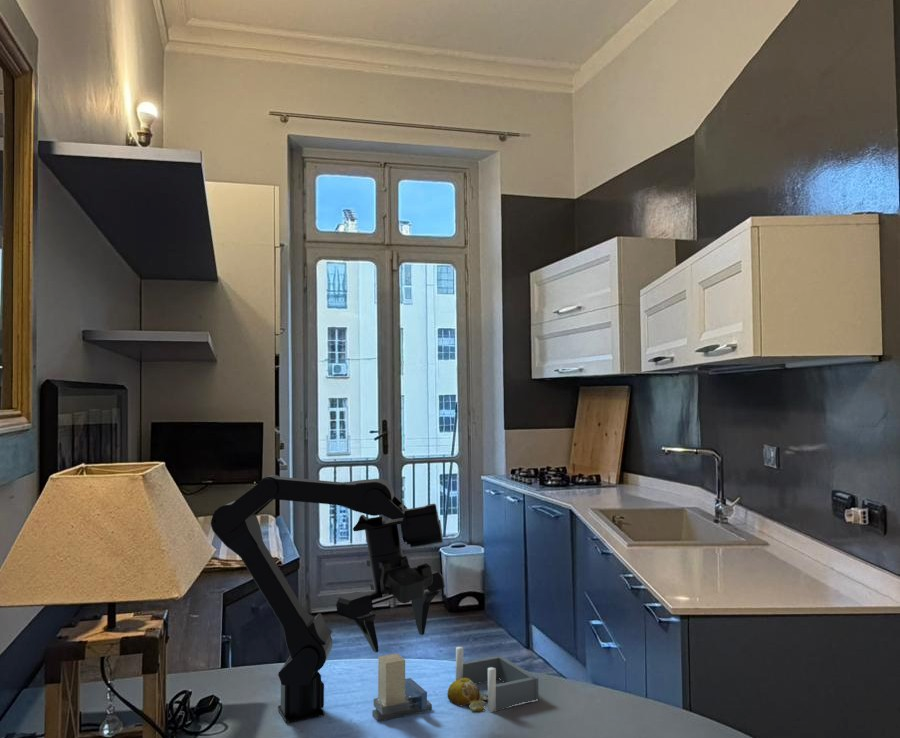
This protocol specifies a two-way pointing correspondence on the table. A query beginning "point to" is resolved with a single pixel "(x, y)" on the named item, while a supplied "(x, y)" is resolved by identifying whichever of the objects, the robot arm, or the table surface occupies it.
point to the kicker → (396, 687)
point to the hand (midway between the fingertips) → (399, 643)
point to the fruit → (466, 694)
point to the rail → (400, 712)
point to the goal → (516, 679)
